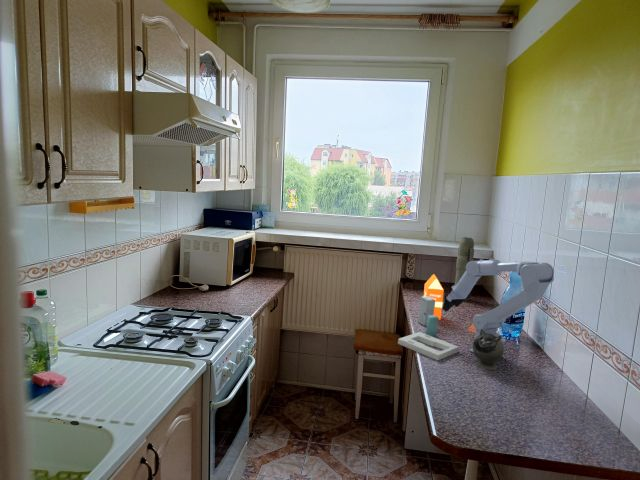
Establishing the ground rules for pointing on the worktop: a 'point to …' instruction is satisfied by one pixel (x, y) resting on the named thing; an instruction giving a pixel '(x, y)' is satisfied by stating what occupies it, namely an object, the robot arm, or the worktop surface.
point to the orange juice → (435, 294)
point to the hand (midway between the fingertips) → (449, 307)
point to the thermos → (464, 257)
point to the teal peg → (432, 325)
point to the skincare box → (426, 309)
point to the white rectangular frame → (421, 348)
